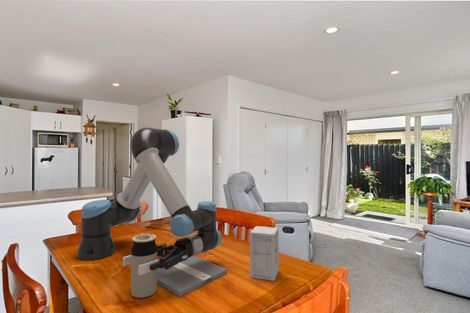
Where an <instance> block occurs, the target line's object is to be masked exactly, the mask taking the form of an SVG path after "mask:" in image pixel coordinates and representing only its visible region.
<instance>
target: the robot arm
mask: <svg viewBox="0 0 470 313" xmlns="http://www.w3.org/2000/svg"><path fill="white" fill-rule="evenodd" d="M129 145H130V150H131V154H132V157H133V158H134V160H135V162H136V164H137V166H136V167H135V169H134V171H133V173H132V175H131V177H130V179H129V181H128V182H127V183H126V186H125V188H124V190H123V191H122V192H119V193H118V194H117V195H116V197H115V199H114V200H113V201H111V200H110V199H98V200H93V201H90V202H86V203H85V204H83V206H82V207H81V215H80V217H81V239H80V242H79V245H78V248H77V251H76V258H77V259H78V260H82V261H93V260H100V259H103V258H107V257H110V256H112V255H113V254H115V251H116V246H115V242H114V240H113V237H112V231H111V230H112V227H116V226H119V225H123V224H124V225H125V224H128V223H131V222H134V221H135V220H136V219H138V218H139V217H140V214H141V211H142V209H141V208H142V205H141V198H142V196H143V195H144V193H145V191H146V190H147V187H148V186H149V184H150V183H151V184H152V187H153V188H154V189H155V192H156V193H157V195H158V196H159V198H160V200H161V202H162V204H163V205H164V207H165V209H166V211H167V212H168V214H169V215H170V217H171V220H170V221H171V222H170V224H169V226H170V231H171V233H172V234H173V235H174V236H176V237H178V239H177V240H175V242H174V243H173V244H169V245H167V243H162V244H159V245H158V244H157V260H154V261H151V262H148V263H145V264H142V265H139V266H138V275H142V274H145V273H147V272H150V271H153V270H156V269H158V268H160V269H162V268H164V269H165V270H167V269H169V268H171V267H173V266H174V265H176V264H178V263H180V262H182V261H185V260H187V258H190V257H192V256H195V257H196V256H197V255H199V254H200V255H201V254H202V253H205V252H208V251H212V250H214V249H216V248H218V247H219V246H220V245H221V244H222V242H223V236H222V235H221V231H220V230H219V229H217V204H216V203H215V202H214V201H209V200H208V201H206V200H205V201H200V202H198V203H197V207H196V209H195V210H192V208H191V206H190V205H189V204H188V201H187V200H186V199H185V197H184V195H183V194H182V192H181V190H180V188H179V186H178V185H177V183H176V181H175V179H174V178H173V177H172V175H171V173H170V171H169V170H168V169H167V167H166V165H165V163H166V162H167V160H168V158H169V157H170V156H171V157H173V156H174V155H176V154H177V153H178V151H179V148H180V142H179V137H178V136H177V134H176V133H175V132H174V131H172V130H168V129H161V128H152V127H142V128H139V129H138V130H136V131H135V132H134V134H133V135H132V137H131V139H130V144H129ZM195 232H197V233H195ZM194 233H195V234H194ZM185 236H186V237H185ZM158 257H159V259H158ZM129 265H131V254H129V255H126V256H123V257H122V266H123V267H125V266H129Z"/></svg>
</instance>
